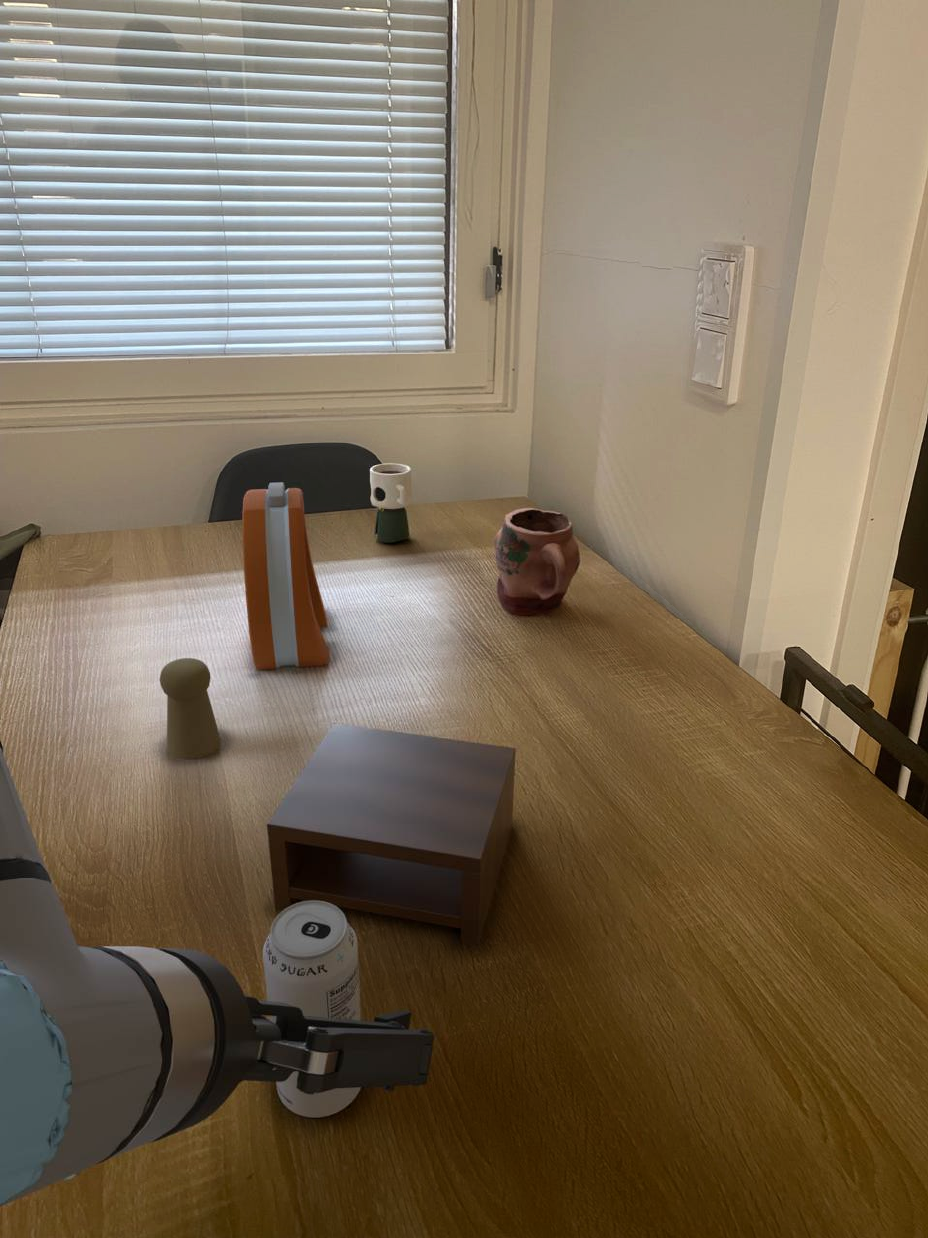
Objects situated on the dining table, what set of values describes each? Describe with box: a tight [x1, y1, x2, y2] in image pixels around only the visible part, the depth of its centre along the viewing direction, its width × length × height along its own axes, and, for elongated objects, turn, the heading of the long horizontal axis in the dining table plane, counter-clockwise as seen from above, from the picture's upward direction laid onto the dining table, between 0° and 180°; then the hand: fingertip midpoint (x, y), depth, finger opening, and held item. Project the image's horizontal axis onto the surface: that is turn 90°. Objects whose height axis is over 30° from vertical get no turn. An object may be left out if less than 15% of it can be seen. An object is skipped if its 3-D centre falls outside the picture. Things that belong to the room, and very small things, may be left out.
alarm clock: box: [241, 481, 331, 671], centre depth 120 cm, size 22×10×23 cm, turn 9°
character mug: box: [369, 462, 413, 543], centre depth 159 cm, size 11×7×13 cm, turn 28°
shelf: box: [266, 722, 517, 947], centre depth 82 cm, size 16×18×10 cm
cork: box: [159, 657, 222, 760], centre depth 99 cm, size 6×6×11 cm
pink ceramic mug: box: [493, 507, 581, 616], centre depth 134 cm, size 20×12×14 cm, turn 22°
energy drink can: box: [262, 900, 362, 1119], centre depth 61 cm, size 6×6×15 cm
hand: (298, 1013), depth 57 cm, fingers open, 13 cm apart
